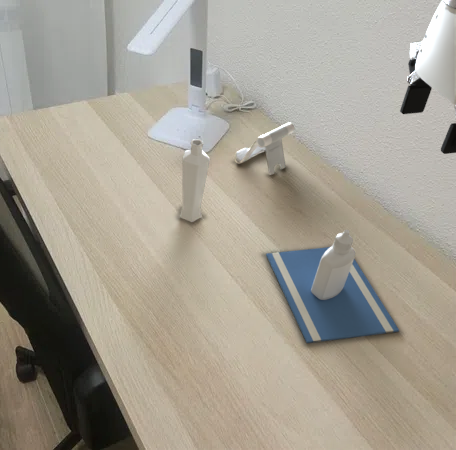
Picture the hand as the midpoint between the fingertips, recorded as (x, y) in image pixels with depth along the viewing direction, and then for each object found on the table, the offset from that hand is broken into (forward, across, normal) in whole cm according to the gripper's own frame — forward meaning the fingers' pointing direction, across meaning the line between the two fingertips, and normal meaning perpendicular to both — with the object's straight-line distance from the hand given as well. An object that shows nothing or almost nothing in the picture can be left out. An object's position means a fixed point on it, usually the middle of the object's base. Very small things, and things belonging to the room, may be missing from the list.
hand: (430, 131), depth 71 cm
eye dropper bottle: (+26, -3, +10) cm, 28 cm away
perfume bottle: (+26, +18, +26) cm, 41 cm away
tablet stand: (+26, +32, +8) cm, 42 cm away
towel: (+26, -3, +10) cm, 28 cm away
